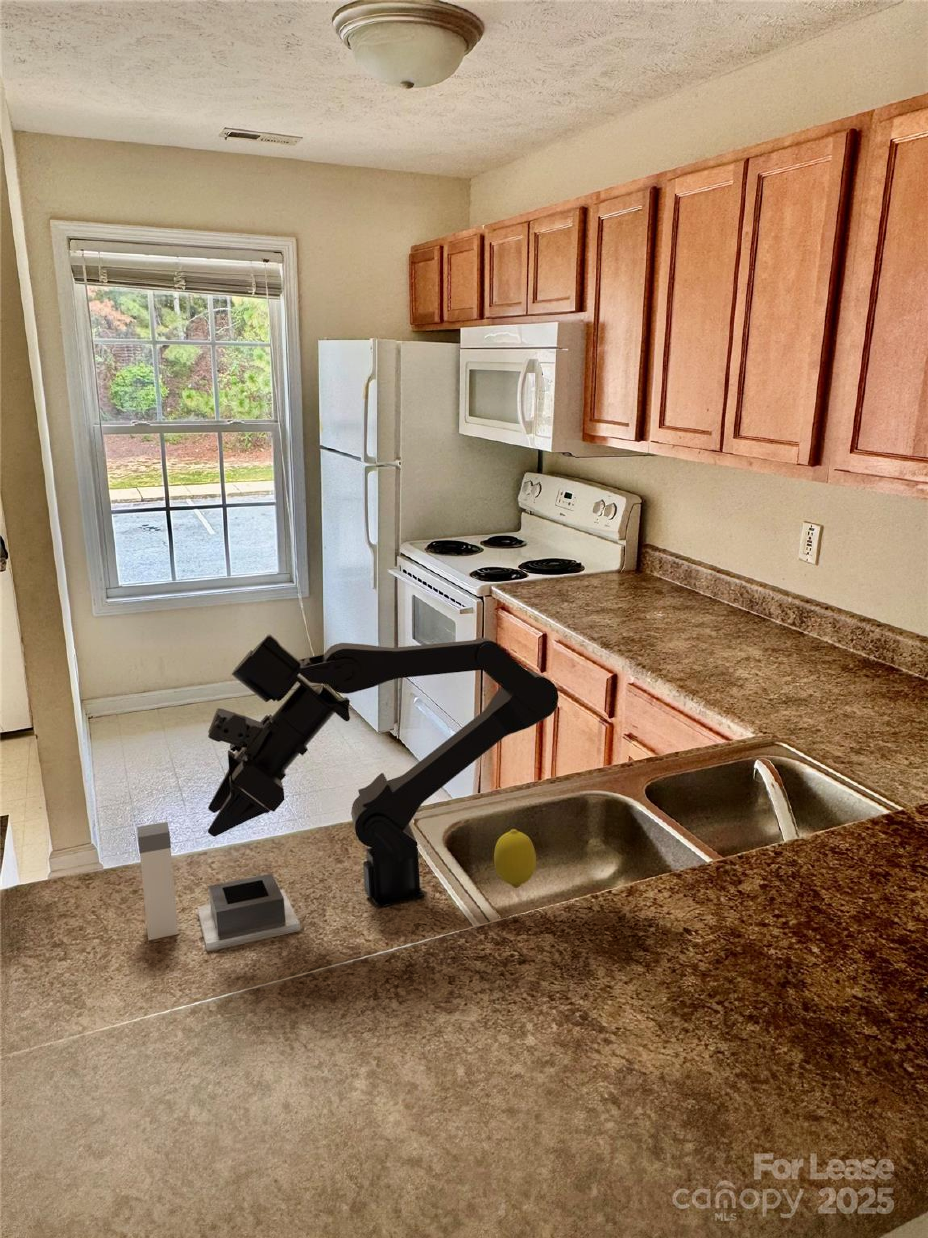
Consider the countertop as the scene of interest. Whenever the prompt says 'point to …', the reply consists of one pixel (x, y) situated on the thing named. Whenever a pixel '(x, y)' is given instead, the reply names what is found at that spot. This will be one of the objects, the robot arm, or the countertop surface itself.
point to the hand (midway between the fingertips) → (210, 822)
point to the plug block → (158, 880)
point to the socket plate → (246, 912)
